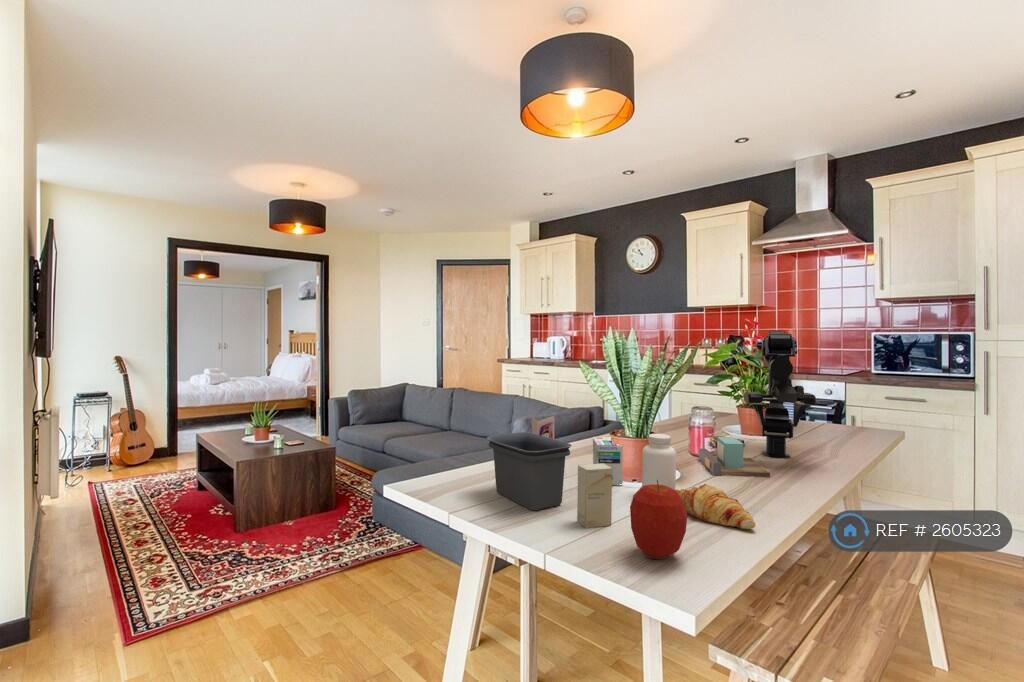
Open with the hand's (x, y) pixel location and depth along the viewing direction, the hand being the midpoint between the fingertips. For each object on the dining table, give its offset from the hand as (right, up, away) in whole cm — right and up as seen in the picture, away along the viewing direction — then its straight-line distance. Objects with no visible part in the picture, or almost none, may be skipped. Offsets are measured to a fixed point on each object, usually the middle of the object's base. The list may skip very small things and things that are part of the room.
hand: (778, 426), depth 153 cm
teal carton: (-16, -11, -3) cm, 20 cm away
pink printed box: (-73, -12, -3) cm, 74 cm away
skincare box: (-63, -13, -46) cm, 79 cm away
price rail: (-22, -12, -2) cm, 25 cm away
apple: (-55, -13, -61) cm, 83 cm away
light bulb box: (-55, -12, -15) cm, 58 cm away
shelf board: (-14, -12, -3) cm, 19 cm away
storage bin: (-76, -13, -30) cm, 83 cm away
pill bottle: (-45, -13, -28) cm, 54 cm away
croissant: (-37, -13, -42) cm, 58 cm away
